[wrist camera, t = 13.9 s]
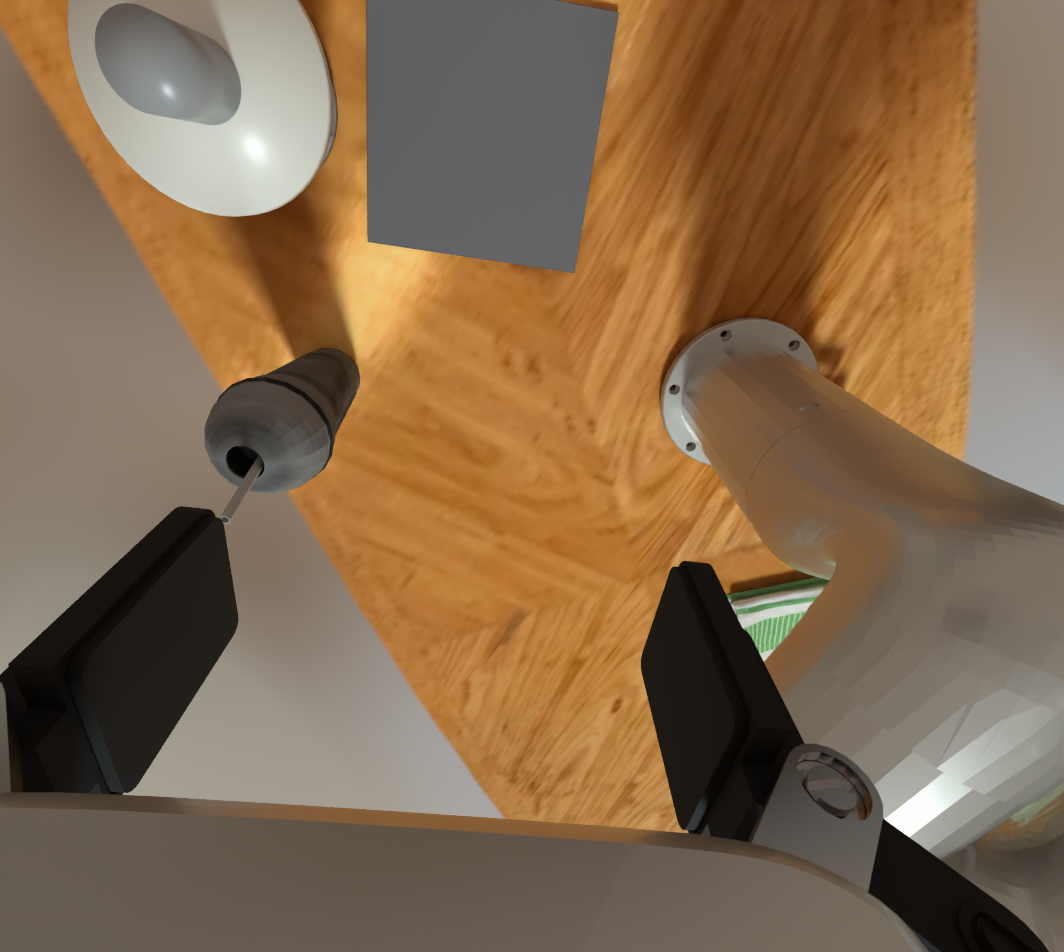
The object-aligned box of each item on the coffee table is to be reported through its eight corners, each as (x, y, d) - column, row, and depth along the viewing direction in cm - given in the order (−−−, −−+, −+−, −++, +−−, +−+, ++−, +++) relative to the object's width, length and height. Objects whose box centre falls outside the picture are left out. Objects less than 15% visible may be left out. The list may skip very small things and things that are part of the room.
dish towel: (737, 731, 66) (745, 751, 64) (718, 591, 56) (727, 610, 53) (887, 704, 64) (901, 724, 62) (897, 553, 53) (915, 570, 51)
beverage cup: (316, 310, 41) (160, 406, 23) (395, 372, 43) (307, 501, 26) (268, 378, 43) (95, 511, 26) (345, 433, 46) (234, 589, 28)
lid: (327, -55, 27) (279, -114, 21) (337, 230, 33) (302, 239, 27) (50, -105, 26) (-73, -180, 20) (114, 198, 32) (33, 201, 26)
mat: (617, 14, 33) (618, 12, 32) (573, 272, 40) (574, 273, 39) (368, -34, 31) (366, -36, 31) (369, 241, 39) (367, 241, 38)
